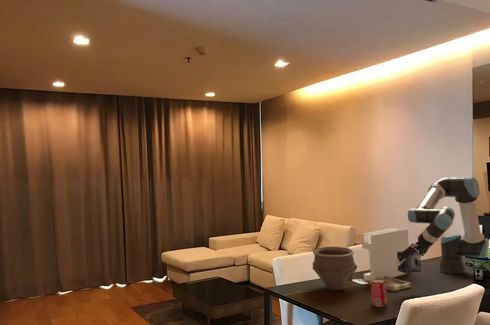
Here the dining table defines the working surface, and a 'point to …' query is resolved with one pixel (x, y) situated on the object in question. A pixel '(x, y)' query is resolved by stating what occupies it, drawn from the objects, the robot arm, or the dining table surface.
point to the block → (384, 251)
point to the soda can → (378, 293)
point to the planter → (334, 266)
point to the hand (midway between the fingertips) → (404, 262)
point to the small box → (410, 263)
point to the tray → (393, 283)
